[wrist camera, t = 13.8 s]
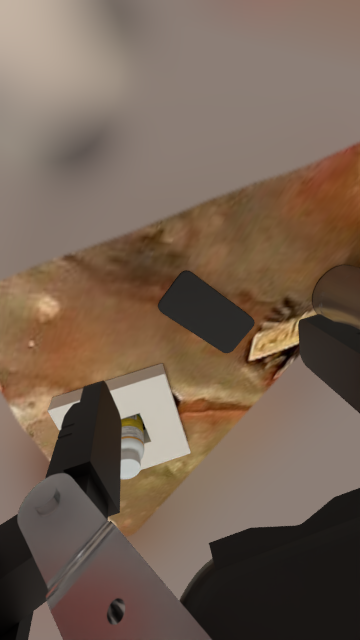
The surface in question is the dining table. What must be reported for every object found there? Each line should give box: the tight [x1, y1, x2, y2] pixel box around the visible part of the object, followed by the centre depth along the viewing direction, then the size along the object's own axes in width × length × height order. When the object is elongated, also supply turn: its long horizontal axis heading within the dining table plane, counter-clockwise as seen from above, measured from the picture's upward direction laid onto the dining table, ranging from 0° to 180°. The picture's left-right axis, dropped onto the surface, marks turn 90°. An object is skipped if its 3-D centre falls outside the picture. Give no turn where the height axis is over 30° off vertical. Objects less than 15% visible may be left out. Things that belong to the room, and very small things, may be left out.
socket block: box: [48, 364, 190, 470], centre depth 45 cm, size 18×18×3 cm
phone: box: [158, 271, 254, 353], centre depth 41 cm, size 7×1×15 cm
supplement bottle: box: [120, 413, 144, 479], centre depth 42 cm, size 5×5×10 cm
